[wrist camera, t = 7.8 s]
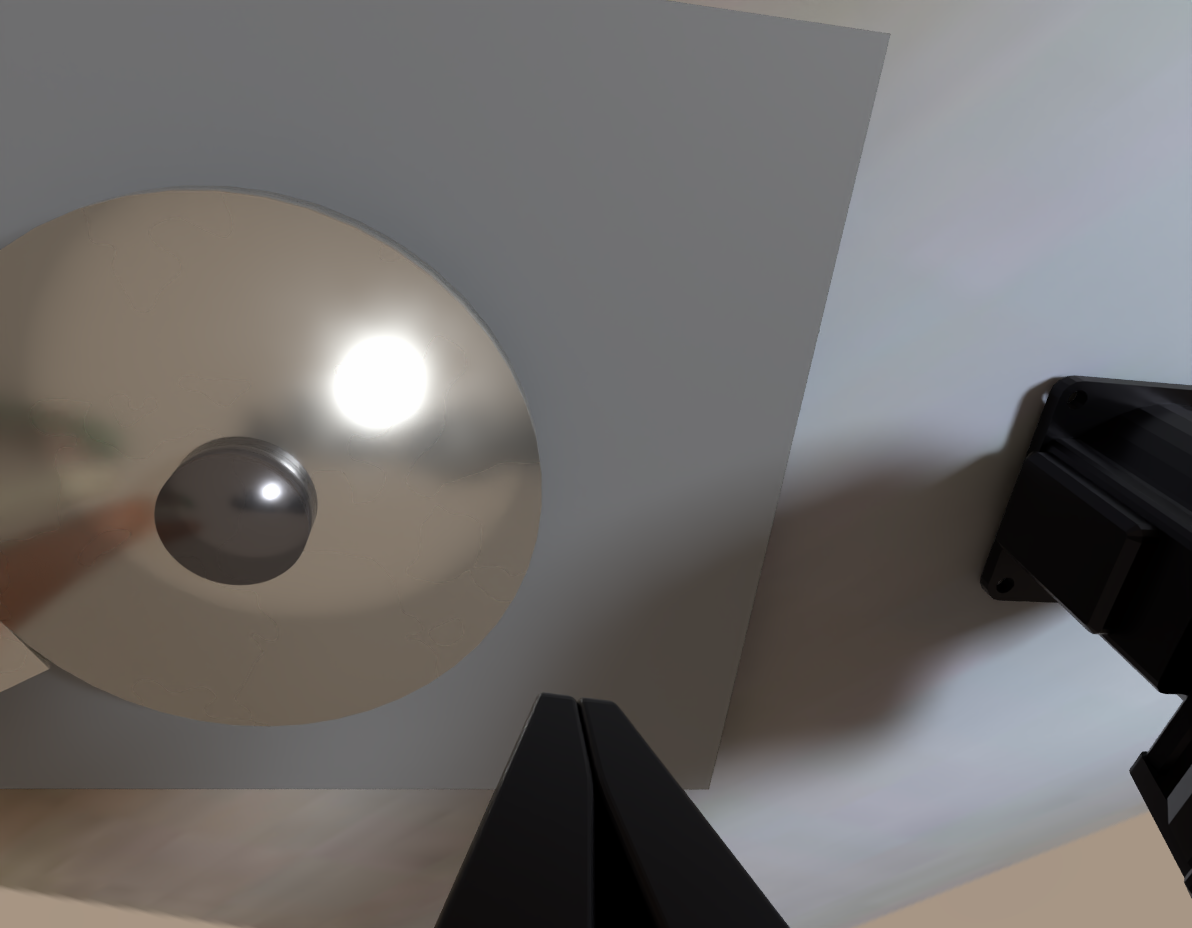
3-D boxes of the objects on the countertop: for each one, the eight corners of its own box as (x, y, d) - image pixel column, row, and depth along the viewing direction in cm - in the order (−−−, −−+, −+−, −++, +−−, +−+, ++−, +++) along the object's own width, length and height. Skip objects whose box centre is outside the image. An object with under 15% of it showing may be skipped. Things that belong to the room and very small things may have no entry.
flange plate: (348, 63, 14) (295, 65, 11) (626, 574, 20) (661, 703, 16) (-446, 487, 16) (-750, 626, 12) (7, 855, 21) (-103, 1036, 17)
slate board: (869, 35, 17) (1003, 26, 13) (701, 763, 26) (745, 912, 21) (-523, -171, 14) (-1025, -285, 9) (-185, 758, 22) (-358, 938, 17)
